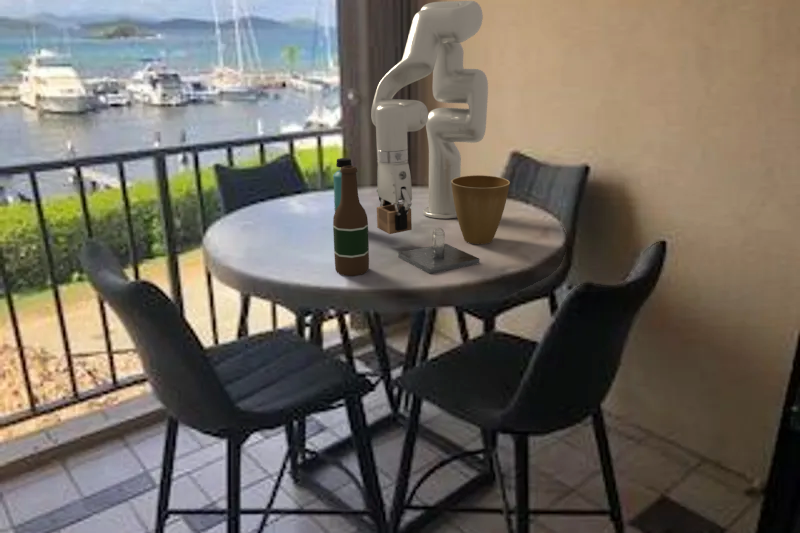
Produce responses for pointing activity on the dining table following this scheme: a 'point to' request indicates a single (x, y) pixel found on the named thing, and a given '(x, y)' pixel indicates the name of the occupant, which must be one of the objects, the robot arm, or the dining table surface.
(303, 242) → the dining table surface
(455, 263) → the post block
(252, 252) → the dining table surface
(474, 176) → the plant pot
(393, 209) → the walnut collar
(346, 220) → the beer bottle
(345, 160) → the beverage bottle
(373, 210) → the dining table surface
